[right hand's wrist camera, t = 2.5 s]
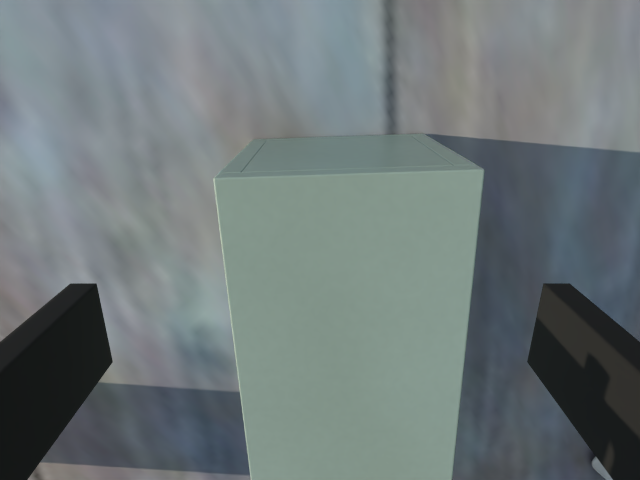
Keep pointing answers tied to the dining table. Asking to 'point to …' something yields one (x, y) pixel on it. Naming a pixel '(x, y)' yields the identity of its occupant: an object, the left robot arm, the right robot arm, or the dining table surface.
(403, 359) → the cabinet
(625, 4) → the dining table surface
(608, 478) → the fork
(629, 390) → the right robot arm
